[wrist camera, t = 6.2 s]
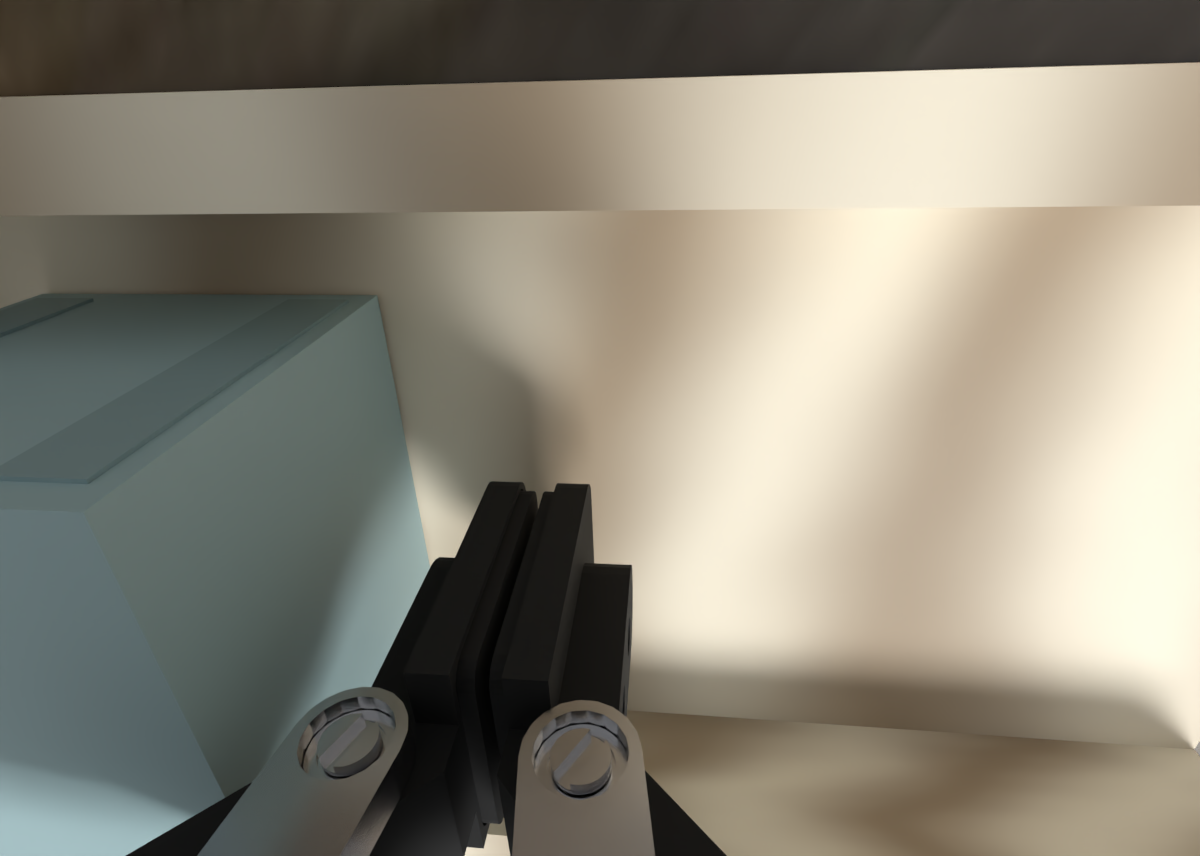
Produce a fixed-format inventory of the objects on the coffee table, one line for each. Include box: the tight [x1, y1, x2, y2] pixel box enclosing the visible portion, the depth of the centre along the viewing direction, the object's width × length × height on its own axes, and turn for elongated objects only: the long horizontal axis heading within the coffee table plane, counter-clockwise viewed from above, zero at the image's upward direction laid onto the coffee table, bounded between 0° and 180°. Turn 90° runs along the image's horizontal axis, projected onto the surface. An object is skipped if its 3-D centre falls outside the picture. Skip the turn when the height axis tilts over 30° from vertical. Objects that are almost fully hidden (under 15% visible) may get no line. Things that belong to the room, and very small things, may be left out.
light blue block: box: [0, 294, 430, 856], centre depth 10 cm, size 6×8×6 cm
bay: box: [0, 62, 1200, 856], centre depth 11 cm, size 25×14×4 cm, turn 91°
